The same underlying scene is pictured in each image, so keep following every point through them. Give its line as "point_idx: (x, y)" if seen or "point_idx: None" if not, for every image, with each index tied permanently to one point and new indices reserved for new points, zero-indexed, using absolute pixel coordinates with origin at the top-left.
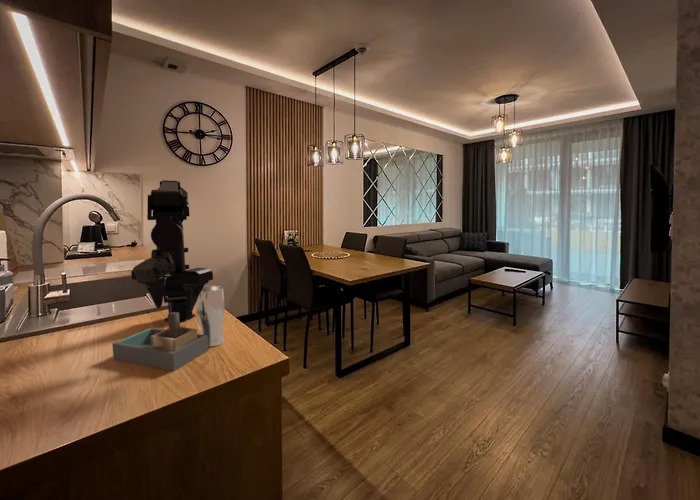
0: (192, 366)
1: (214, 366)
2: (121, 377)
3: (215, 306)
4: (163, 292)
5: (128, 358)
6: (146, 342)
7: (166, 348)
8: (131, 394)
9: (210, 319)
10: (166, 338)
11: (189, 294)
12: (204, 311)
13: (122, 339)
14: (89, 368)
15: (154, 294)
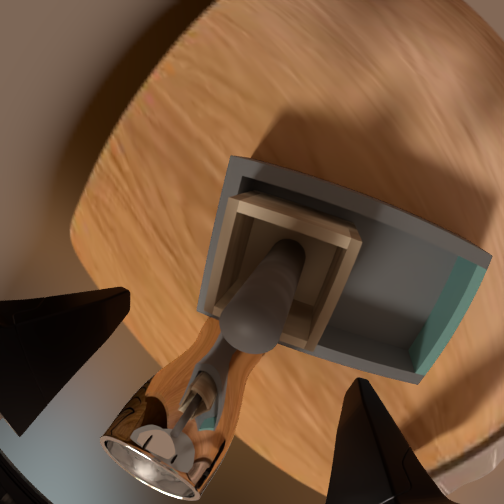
0: (213, 189)
1: (159, 193)
2: (385, 120)
3: (137, 392)
4: (329, 484)
5: (426, 220)
6: (419, 333)
7: (285, 206)
8: (292, 42)
9: (177, 361)
10: (274, 213)
11: (15, 304)
12: (177, 383)
13: (476, 289)
14: (494, 187)
15: (375, 454)
